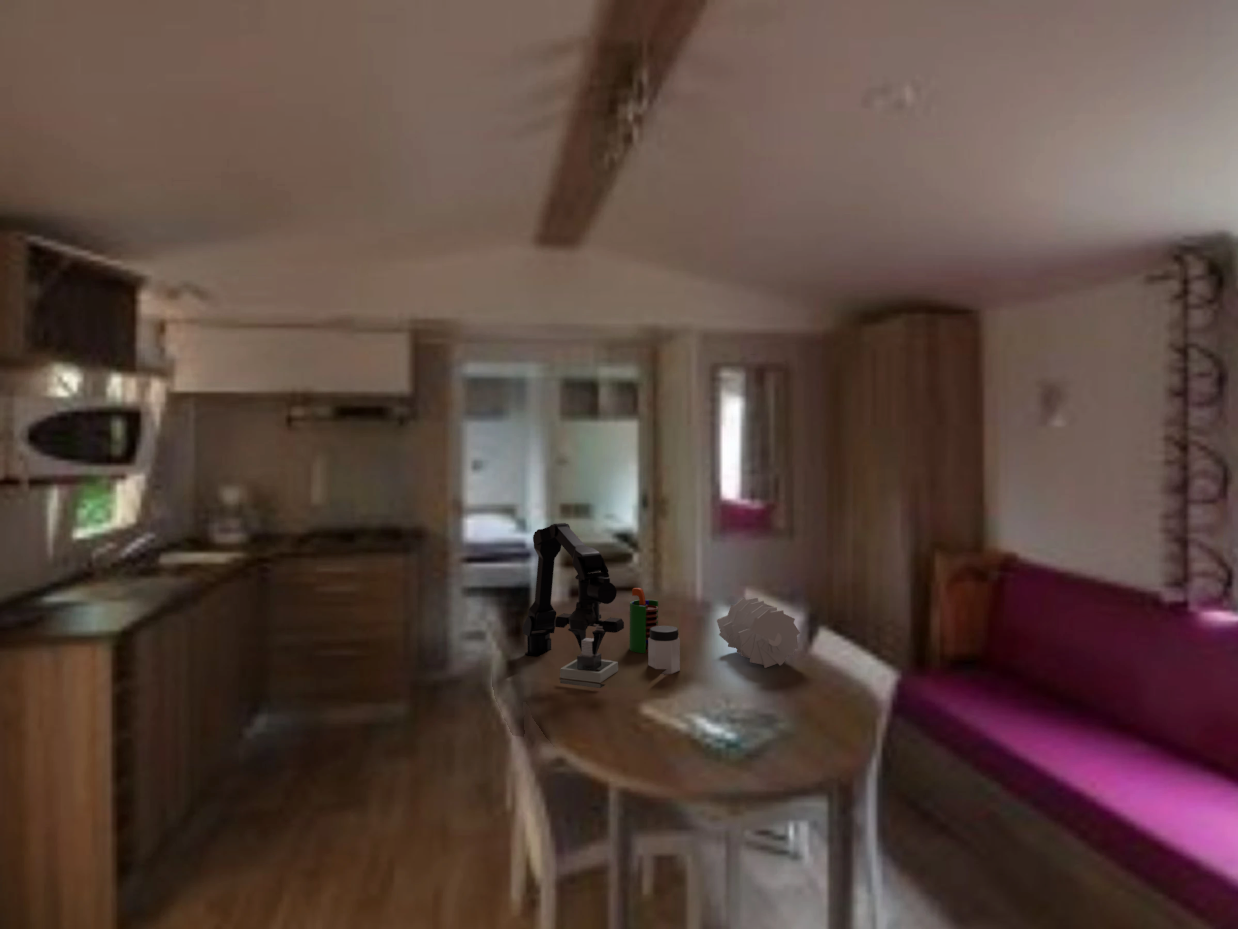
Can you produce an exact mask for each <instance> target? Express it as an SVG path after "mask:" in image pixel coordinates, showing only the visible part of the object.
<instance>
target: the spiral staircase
mask: <svg viewBox="0 0 1238 929" xmlns="http://www.w3.org/2000/svg"><path fill="white" fill-rule="evenodd" d="M795 620H796V618H794V617H792V616H790V615H788V614H785V613H784V610H782V609H781V610H778V607H776V606H774V605H770V604H767V603H765V602H764V600H759V597H751V598H747V599H746V598H745V597H742V598H741V599H740V600H739V601H737V602H736V603H735V604H734V605H733V604H731V605H730V607H729V611H728V612H727V615H725V616H722V617H720V618H716V623H717V626H718V628H719V634H718V636H719V637H721V639H723V640H724V641H725V642H726V643H728V645H727V647H728V648H732V649H736V653H738V654H740V657H743V658H749V663H753V664H757V665H761V666H762V665H763V667H764V669H767V668H769V667H772V666H774V665H777V664H778V666H780V667H781V666H782V665H783V664H784V662H785V661H786V660H787V658H789V656H790V657H794V654H795V651H796V650H797V649H798V650H799V643H798V635H800V634H801V632H800V630H799V629H798V627H797V625H796V624H795V623H794V622H795Z"/></svg>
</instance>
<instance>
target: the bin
mask: <svg viewBox="0 0 1238 929" xmlns="http://www.w3.org/2000/svg"><path fill="white" fill-rule="evenodd" d="M605 660H606V659H604V660H601V667H599V668H597V669H596V670H598V671H596V670H594V671H592V670H583V669H577V658H576V659H575V660H573V661H571V662H569V663H567V664H566V665H564V666H562V667H561V668H560V669H559V678H560V680H559V682H560V683H559V684H564V685H573V686H580V687H587V688H588V687H589V688H595V689H597V688H598V689H602V688H603V687H604V686H606V684H603V682H605V680H607V679H608V678H610V677H611V676H613V675H614V674H616V673H617V672H618V671H619V661H614V660H612V661H605Z"/></svg>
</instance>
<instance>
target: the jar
mask: <svg viewBox="0 0 1238 929" xmlns="http://www.w3.org/2000/svg"><path fill="white" fill-rule="evenodd" d="M680 644H681V639H680V637H679V629H678V627H676V626H672V625H658V626H655V627H651V628H650V637H649V638H648V647H647V649H648V652H647V656H648V664H647V665H648V666H649V667H651V668H652V669H655V670H663V671H662V672H661V673H660V675H674V674H675V673H677V672H679V671H680V670H681V669H680V668H681V645H680Z"/></svg>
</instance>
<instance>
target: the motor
mask: <svg viewBox="0 0 1238 929" xmlns="http://www.w3.org/2000/svg"><path fill="white" fill-rule="evenodd" d="M631 591H632V592H631V595H632V597H635V596H637V597H638V599H636V600H632V601H630V602H629V638H628V639H629V640H628V641H629V644H628V645H629V651H631V652H633V653H637V654H638V653H639V654H646V653H648V638H649V637H650V628H651V627H655V626H659V600H655V599H646V596H645V592H644V589H643V588H641V587H633V588H632V590H631ZM646 648H647V649H646Z"/></svg>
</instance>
